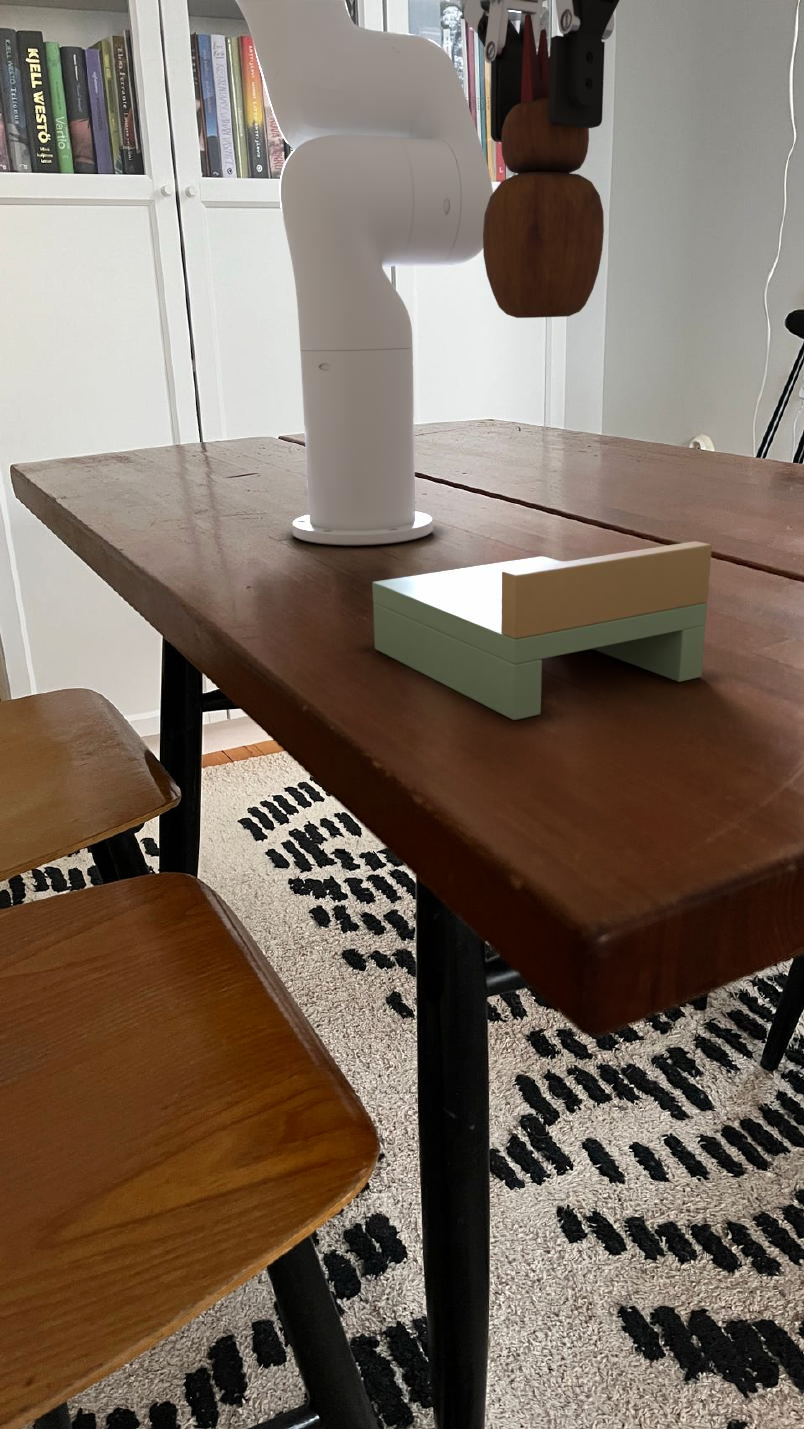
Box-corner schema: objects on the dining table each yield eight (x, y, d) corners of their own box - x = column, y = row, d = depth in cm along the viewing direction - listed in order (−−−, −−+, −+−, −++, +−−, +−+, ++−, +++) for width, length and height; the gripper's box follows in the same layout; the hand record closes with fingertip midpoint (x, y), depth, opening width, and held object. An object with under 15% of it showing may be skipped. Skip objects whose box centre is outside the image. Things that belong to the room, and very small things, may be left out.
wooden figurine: (522, 316, 58) (526, -1, 53) (467, 319, 63) (466, 28, 58) (619, 314, 61) (631, 13, 56) (559, 317, 66) (565, 40, 61)
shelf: (374, 649, 61) (370, 529, 59) (541, 618, 67) (544, 507, 64) (513, 721, 50) (516, 575, 47) (701, 677, 55) (712, 544, 53)
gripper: (401, -219, 58) (409, 154, 64) (606, -398, 44) (591, 99, 50) (512, -190, 61) (509, 161, 68) (734, -348, 48) (706, 111, 54)
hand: (544, 130), depth 59 cm, fingers closed on wooden figurine, 4 cm apart
